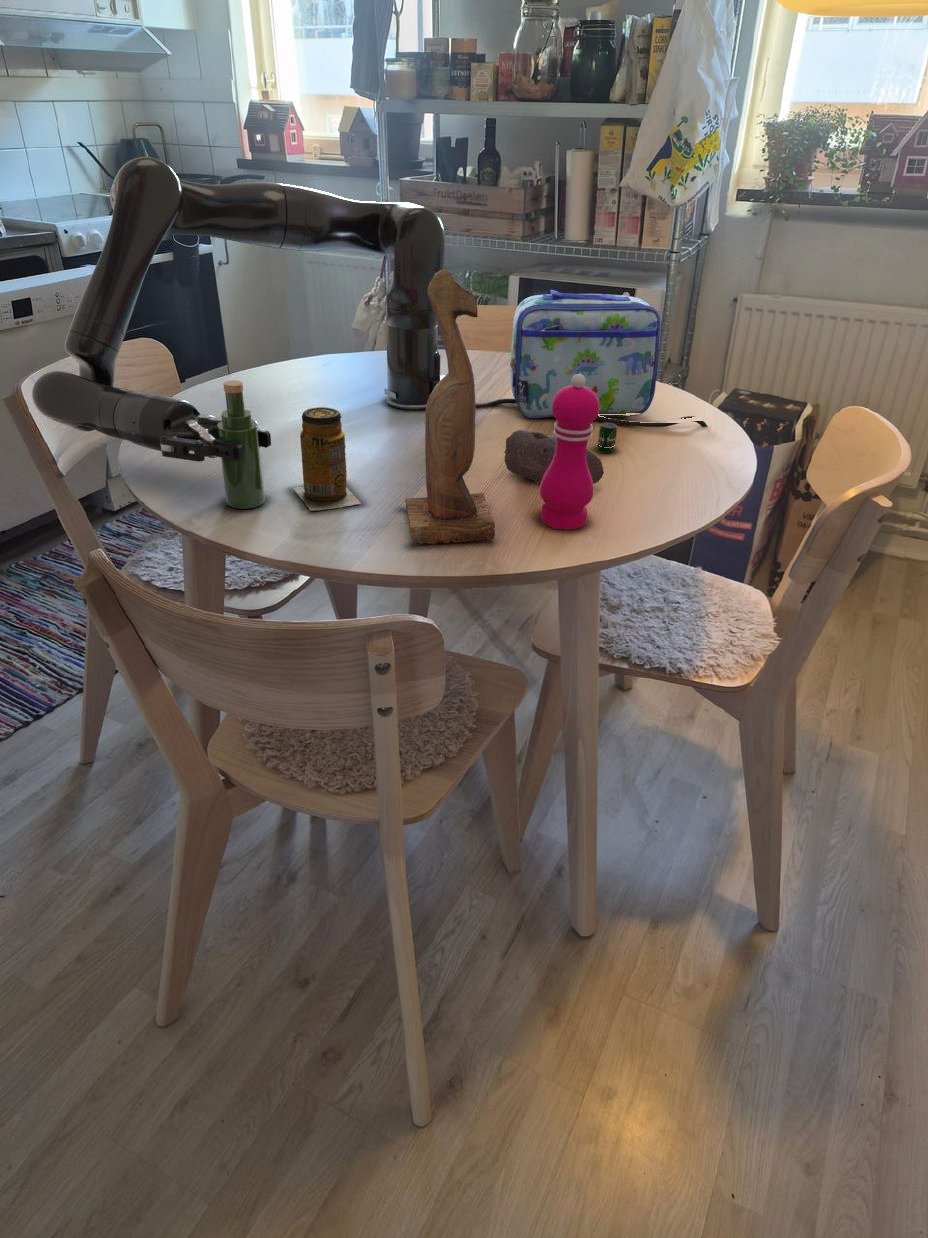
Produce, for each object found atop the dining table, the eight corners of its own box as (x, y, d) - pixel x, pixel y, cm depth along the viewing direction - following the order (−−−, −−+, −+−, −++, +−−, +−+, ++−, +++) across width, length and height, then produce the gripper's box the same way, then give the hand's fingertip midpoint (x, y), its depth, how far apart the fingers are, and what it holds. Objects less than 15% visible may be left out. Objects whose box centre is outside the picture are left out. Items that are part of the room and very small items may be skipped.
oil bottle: (264, 492, 117) (253, 376, 108) (265, 507, 112) (254, 388, 104) (226, 494, 116) (212, 377, 107) (226, 510, 111) (211, 389, 102)
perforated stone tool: (605, 484, 124) (611, 440, 120) (596, 497, 119) (602, 452, 116) (512, 466, 128) (515, 423, 125) (500, 478, 124) (503, 434, 121)
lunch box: (508, 420, 147) (516, 297, 135) (504, 401, 156) (511, 284, 144) (652, 424, 148) (672, 302, 136) (640, 405, 157) (658, 289, 145)
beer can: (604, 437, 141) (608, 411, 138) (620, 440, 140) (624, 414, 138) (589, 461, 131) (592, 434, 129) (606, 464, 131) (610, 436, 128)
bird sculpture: (500, 541, 107) (517, 279, 89) (411, 547, 104) (411, 279, 87) (481, 505, 116) (493, 261, 99) (399, 510, 113) (396, 261, 96)
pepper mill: (533, 509, 115) (545, 365, 105) (583, 508, 116) (601, 366, 105) (541, 532, 109) (555, 382, 99) (594, 531, 110) (614, 382, 99)
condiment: (341, 482, 121) (337, 402, 115) (361, 504, 115) (358, 421, 108) (293, 489, 118) (286, 407, 112) (310, 512, 112) (304, 427, 105)
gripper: (113, 410, 107) (215, 435, 101) (189, 382, 118) (286, 403, 112) (123, 464, 111) (222, 491, 105) (196, 433, 122) (290, 456, 116)
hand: (255, 446), depth 109 cm, fingers closed on oil bottle, 5 cm apart
